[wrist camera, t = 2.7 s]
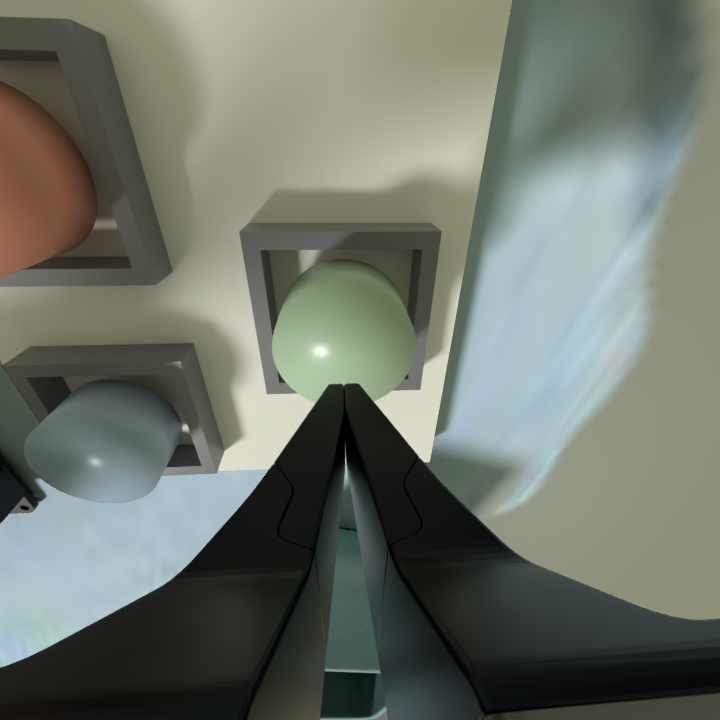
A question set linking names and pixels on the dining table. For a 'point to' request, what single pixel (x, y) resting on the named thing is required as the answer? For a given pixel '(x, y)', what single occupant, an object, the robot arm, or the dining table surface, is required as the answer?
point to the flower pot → (351, 642)
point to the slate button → (105, 442)
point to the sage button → (343, 331)
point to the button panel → (247, 195)
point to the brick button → (39, 185)
